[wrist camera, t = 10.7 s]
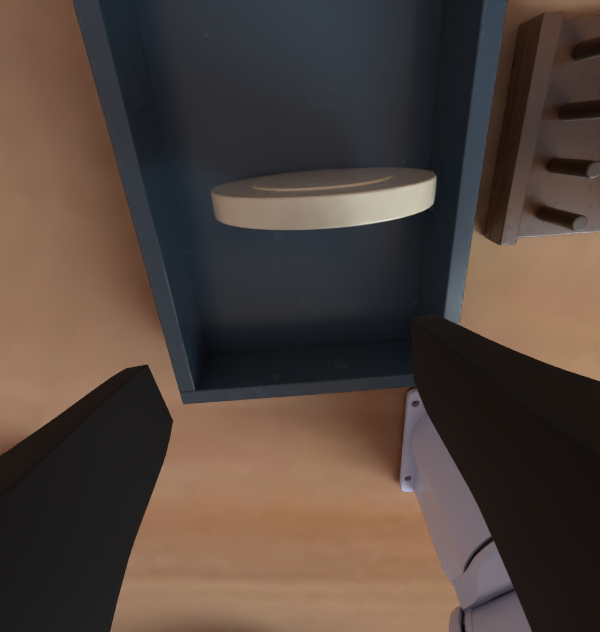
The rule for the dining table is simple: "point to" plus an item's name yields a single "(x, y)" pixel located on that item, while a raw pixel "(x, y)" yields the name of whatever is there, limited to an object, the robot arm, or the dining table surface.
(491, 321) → the dining table surface
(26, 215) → the dining table surface
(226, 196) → the plate
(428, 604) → the dining table surface
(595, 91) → the plate rack
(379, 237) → the dark blue tray
